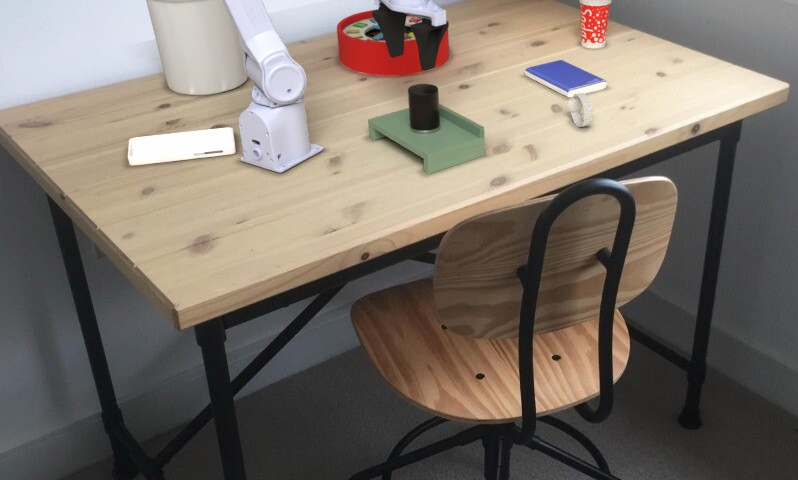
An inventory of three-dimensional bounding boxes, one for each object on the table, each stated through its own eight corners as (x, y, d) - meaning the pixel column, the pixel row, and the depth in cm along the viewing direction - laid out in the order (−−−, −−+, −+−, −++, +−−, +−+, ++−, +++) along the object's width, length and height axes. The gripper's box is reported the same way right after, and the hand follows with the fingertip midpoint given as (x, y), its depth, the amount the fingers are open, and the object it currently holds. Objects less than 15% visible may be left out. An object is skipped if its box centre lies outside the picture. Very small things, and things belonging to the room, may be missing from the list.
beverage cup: (572, 41, 184) (575, -35, 176) (602, 37, 185) (606, -37, 178) (583, 51, 179) (587, -26, 171) (614, 48, 181) (618, -29, 173)
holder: (428, 136, 140) (426, 97, 136) (403, 129, 142) (400, 91, 138) (446, 125, 143) (445, 87, 140) (421, 119, 145) (419, 81, 142)
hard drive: (606, 79, 163) (562, 58, 171) (568, 89, 159) (525, 67, 167) (606, 88, 164) (562, 67, 172) (568, 98, 160) (525, 76, 168)
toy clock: (468, 17, 177) (409, 49, 162) (469, 48, 180) (411, 83, 166) (378, 2, 185) (313, 32, 170) (380, 32, 188) (317, 64, 173)
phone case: (233, 134, 148) (131, 146, 144) (232, 126, 147) (129, 137, 143) (236, 154, 142) (129, 166, 138) (234, 145, 141) (127, 158, 138)
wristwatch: (582, 118, 153) (583, 88, 150) (595, 130, 149) (597, 99, 146) (565, 120, 152) (566, 90, 149) (578, 132, 148) (579, 102, 145)
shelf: (428, 174, 136) (427, 145, 134) (369, 137, 147) (366, 110, 144) (484, 155, 142) (484, 127, 139) (423, 121, 152) (422, 94, 149)
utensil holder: (199, 104, 158) (178, -4, 148) (144, 84, 165) (121, -20, 155) (269, 78, 168) (253, -25, 158) (214, 60, 175) (196, -39, 165)
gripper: (461, -26, 135) (463, 68, 143) (397, -45, 144) (403, 44, 151) (422, -16, 131) (427, 79, 139) (359, -37, 140) (367, 54, 147)
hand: (412, 62), depth 145 cm, fingers open, 7 cm apart
